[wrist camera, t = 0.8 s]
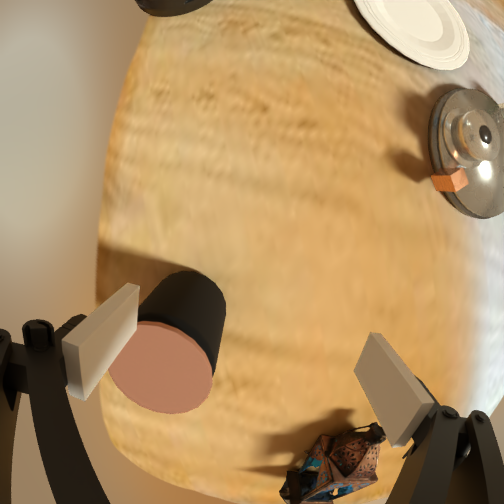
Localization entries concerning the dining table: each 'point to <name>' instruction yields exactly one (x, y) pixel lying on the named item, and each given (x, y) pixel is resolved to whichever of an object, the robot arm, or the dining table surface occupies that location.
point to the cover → (470, 137)
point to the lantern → (336, 467)
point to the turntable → (482, 177)
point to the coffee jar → (173, 345)
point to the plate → (420, 30)
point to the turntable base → (434, 151)
